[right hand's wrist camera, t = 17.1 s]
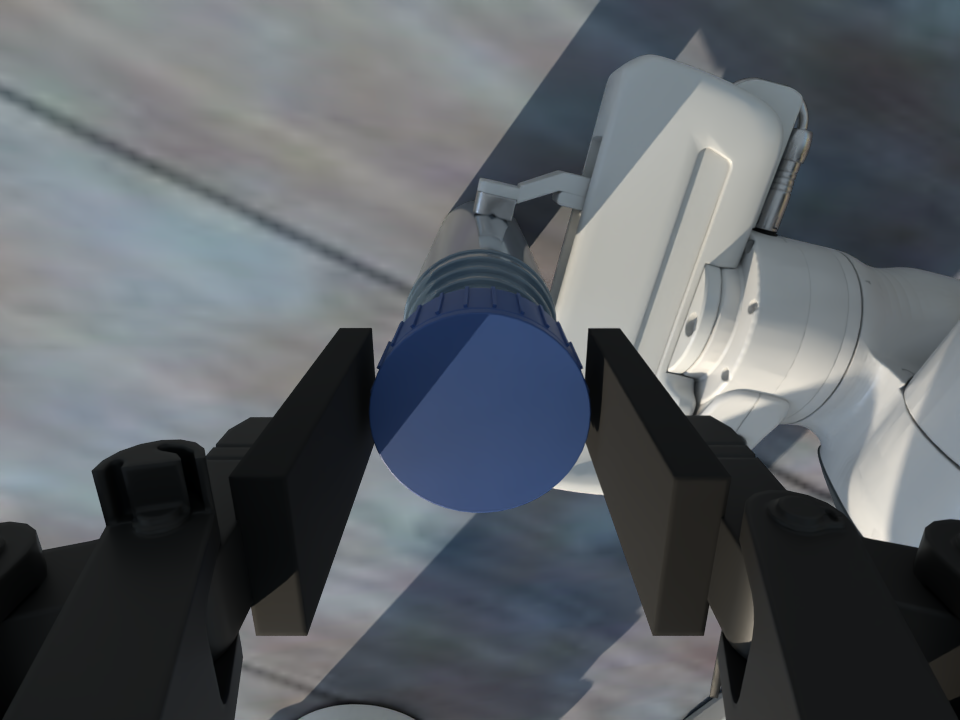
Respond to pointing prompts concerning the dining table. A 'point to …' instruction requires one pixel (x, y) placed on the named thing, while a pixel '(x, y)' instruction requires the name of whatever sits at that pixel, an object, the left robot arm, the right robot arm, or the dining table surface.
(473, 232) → the bottle
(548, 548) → the dining table surface
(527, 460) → the cap
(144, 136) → the dining table surface
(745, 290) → the left robot arm
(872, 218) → the dining table surface
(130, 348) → the dining table surface
